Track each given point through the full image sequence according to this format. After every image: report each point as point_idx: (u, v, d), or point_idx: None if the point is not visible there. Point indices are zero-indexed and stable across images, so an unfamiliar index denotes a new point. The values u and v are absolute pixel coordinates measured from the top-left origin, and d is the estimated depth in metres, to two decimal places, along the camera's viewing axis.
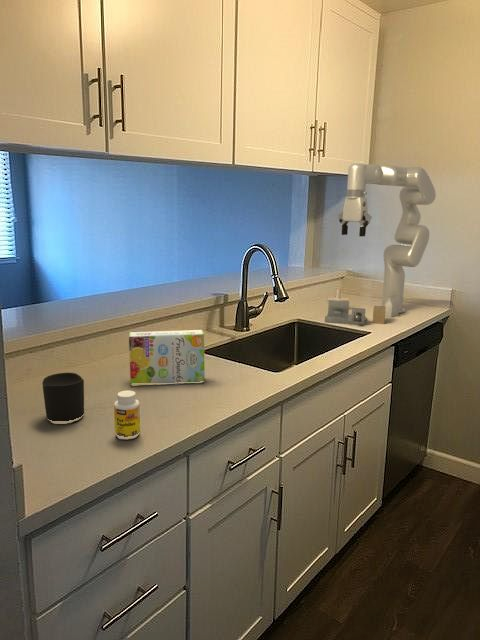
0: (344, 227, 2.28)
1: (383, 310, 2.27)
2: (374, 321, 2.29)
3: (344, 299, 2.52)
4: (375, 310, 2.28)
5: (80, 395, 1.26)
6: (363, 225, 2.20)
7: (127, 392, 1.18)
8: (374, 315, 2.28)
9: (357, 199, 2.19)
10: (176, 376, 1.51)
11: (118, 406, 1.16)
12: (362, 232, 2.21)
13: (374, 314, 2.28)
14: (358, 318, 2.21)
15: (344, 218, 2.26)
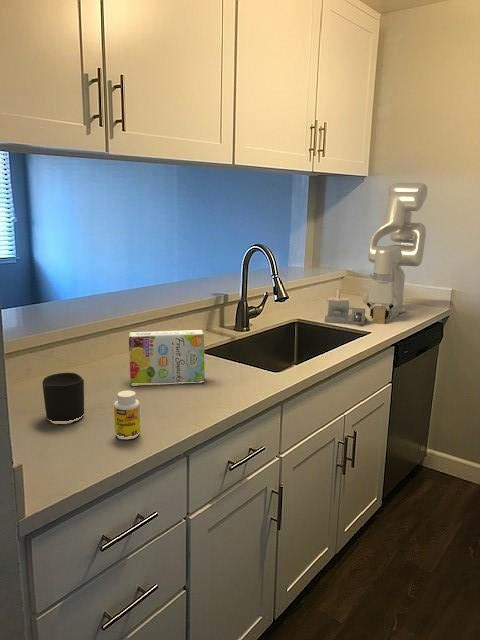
0: None
1: (383, 310, 2.27)
2: (374, 321, 2.29)
3: (344, 299, 2.52)
4: (375, 310, 2.28)
5: (80, 395, 1.26)
6: None
7: (127, 392, 1.18)
8: (374, 315, 2.28)
9: None
10: (176, 376, 1.51)
11: (118, 406, 1.16)
12: None
13: (374, 314, 2.28)
14: (358, 318, 2.21)
15: None
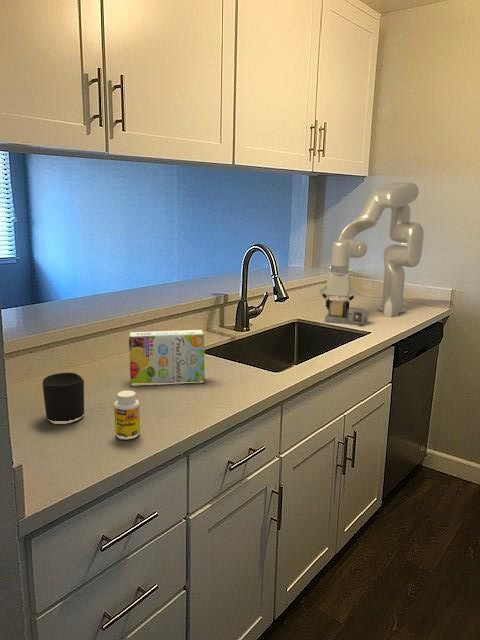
0: None
1: (340, 305, 2.29)
2: (332, 316, 2.31)
3: (344, 299, 2.52)
4: (333, 305, 2.30)
5: (80, 395, 1.26)
6: None
7: (127, 392, 1.18)
8: (332, 310, 2.30)
9: None
10: (176, 376, 1.51)
11: (118, 406, 1.16)
12: None
13: (332, 308, 2.30)
14: (358, 318, 2.21)
15: None
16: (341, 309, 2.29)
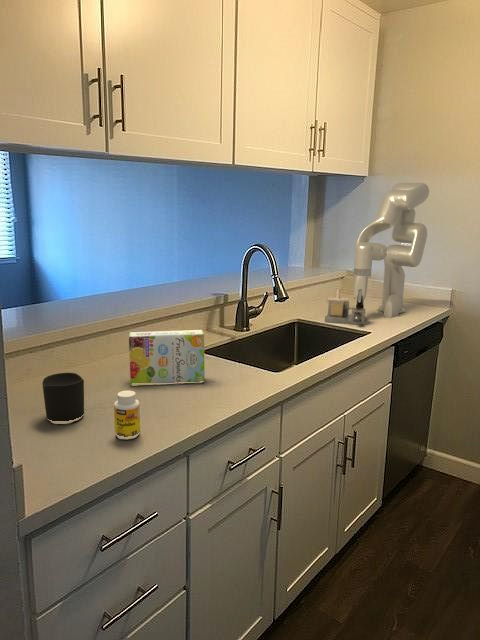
0: None
1: (340, 305, 2.29)
2: (332, 316, 2.31)
3: (344, 299, 2.52)
4: (333, 305, 2.30)
5: (80, 395, 1.26)
6: None
7: (127, 392, 1.18)
8: (332, 310, 2.30)
9: None
10: (176, 376, 1.51)
11: (118, 406, 1.16)
12: None
13: (332, 308, 2.30)
14: (358, 319, 2.20)
15: (364, 297, 2.29)
16: (341, 309, 2.29)
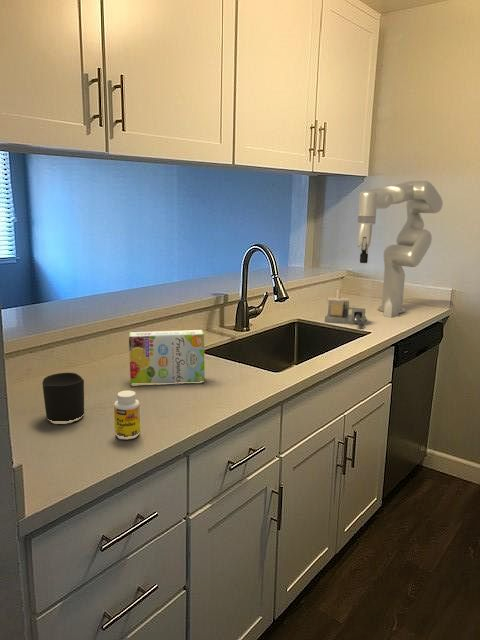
0: None
1: (340, 305, 2.29)
2: (332, 316, 2.31)
3: (344, 299, 2.52)
4: (333, 305, 2.30)
5: (80, 395, 1.26)
6: (367, 253, 2.32)
7: (127, 392, 1.18)
8: (332, 310, 2.30)
9: None
10: (176, 376, 1.51)
11: (118, 406, 1.16)
12: None
13: (332, 308, 2.30)
14: (357, 321, 2.17)
15: (369, 244, 2.26)
16: (341, 309, 2.29)
